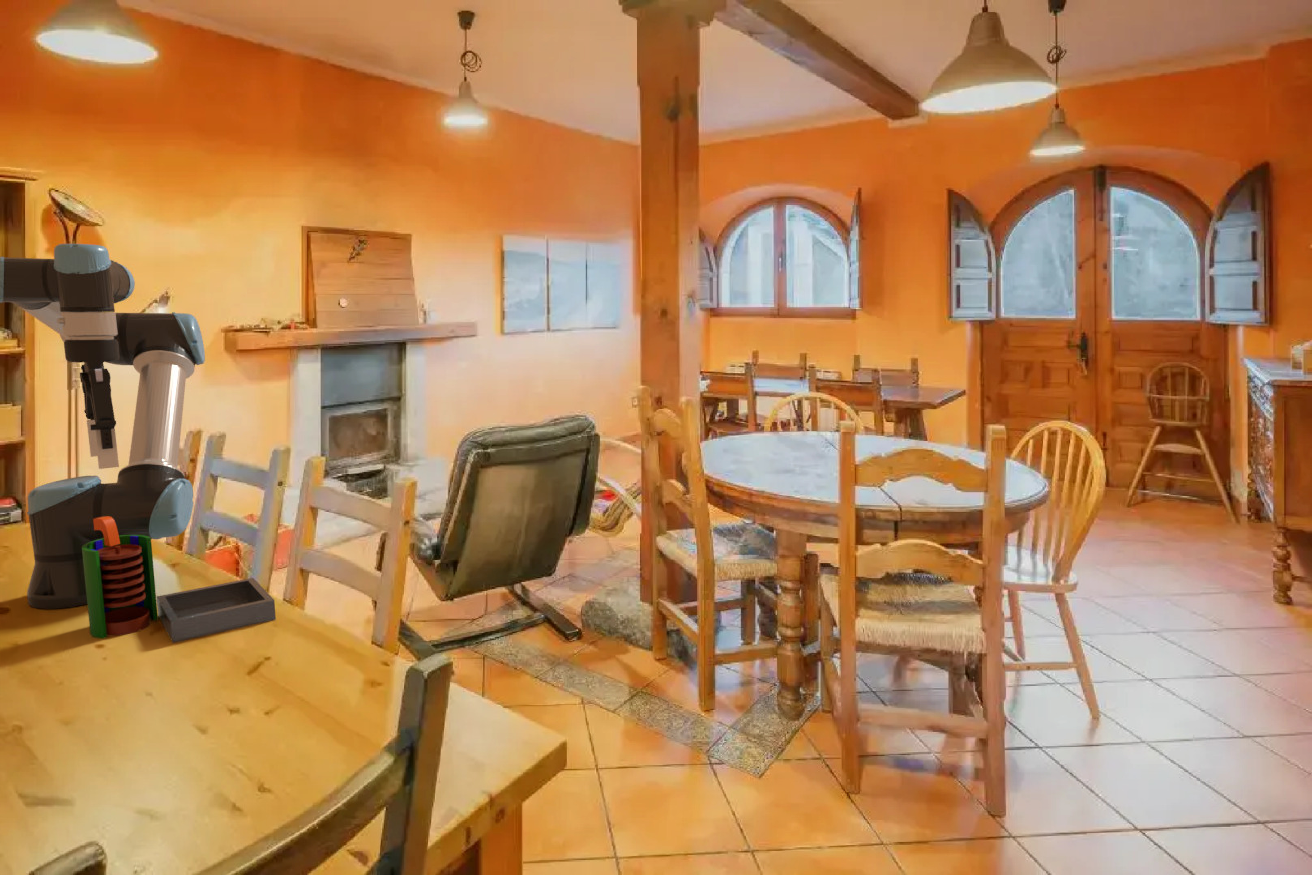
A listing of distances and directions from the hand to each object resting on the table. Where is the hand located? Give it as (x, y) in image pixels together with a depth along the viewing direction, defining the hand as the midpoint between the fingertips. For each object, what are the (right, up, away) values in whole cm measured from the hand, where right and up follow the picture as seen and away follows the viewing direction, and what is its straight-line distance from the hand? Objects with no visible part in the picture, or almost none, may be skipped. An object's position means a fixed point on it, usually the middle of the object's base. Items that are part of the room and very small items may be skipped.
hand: (104, 461), depth 137 cm
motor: (0, -30, +5) cm, 30 cm away
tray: (+14, -29, +9) cm, 34 cm away
